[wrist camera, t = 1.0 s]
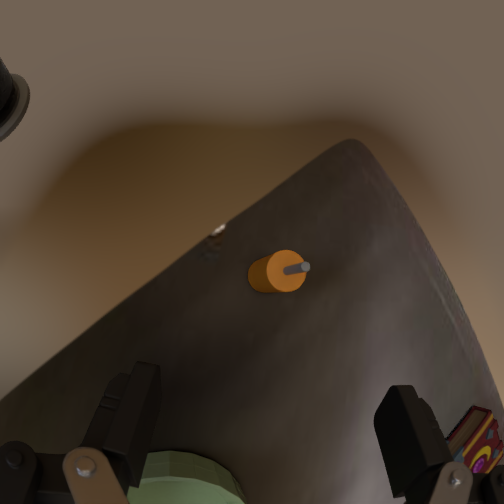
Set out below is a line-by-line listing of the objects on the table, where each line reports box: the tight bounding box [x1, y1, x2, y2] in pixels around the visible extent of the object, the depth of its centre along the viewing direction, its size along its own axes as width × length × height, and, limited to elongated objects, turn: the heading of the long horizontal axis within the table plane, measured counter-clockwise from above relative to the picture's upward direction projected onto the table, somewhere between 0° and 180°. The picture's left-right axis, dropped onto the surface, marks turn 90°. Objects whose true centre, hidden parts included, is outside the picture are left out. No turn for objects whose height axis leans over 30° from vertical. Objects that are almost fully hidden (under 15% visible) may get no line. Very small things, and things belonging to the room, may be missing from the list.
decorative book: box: [446, 406, 504, 473], centre depth 34 cm, size 11×16×5 cm
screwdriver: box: [248, 250, 310, 293], centre depth 28 cm, size 3×3×11 cm
